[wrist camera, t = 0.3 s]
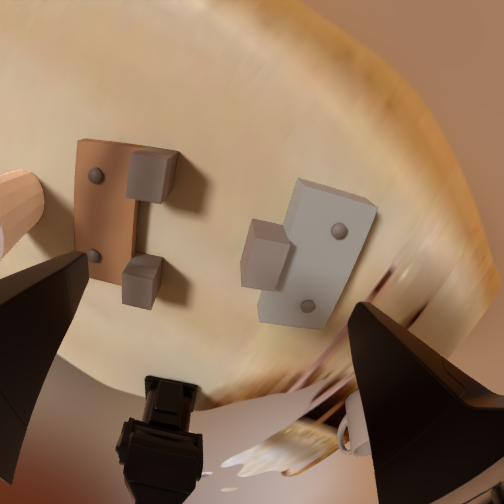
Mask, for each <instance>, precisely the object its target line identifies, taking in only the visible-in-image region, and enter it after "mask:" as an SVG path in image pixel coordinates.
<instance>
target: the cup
mask: <svg viewBox="0 0 504 504" xmlns="http://www.w3.org/2000/svg"><path fill="white" fill-rule="evenodd" d="M345 405H346V415H345V417H344V418H343V420H342V422H341V424H340V426H339V429H338V434H337V442H338V446H339V448H340V450H341V451H342V452H343V453H345V454H349V455H351V454H353V455H355V456H366V455H371V448H370V442H369V437H368V432H367V426H366V421H365V416H364V411H363V407H362V402H361V397H360V393H359V389H358V390H356V391H354V392H353V393H352V394H350V395H349V396H348V398H347V399H346V401H345ZM347 425H348V431H349V438H350V445H351V449H350V450H347V449H346V448H345V446H344V443H343V434H344V431H345V428H346V427H347Z"/></svg>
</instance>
